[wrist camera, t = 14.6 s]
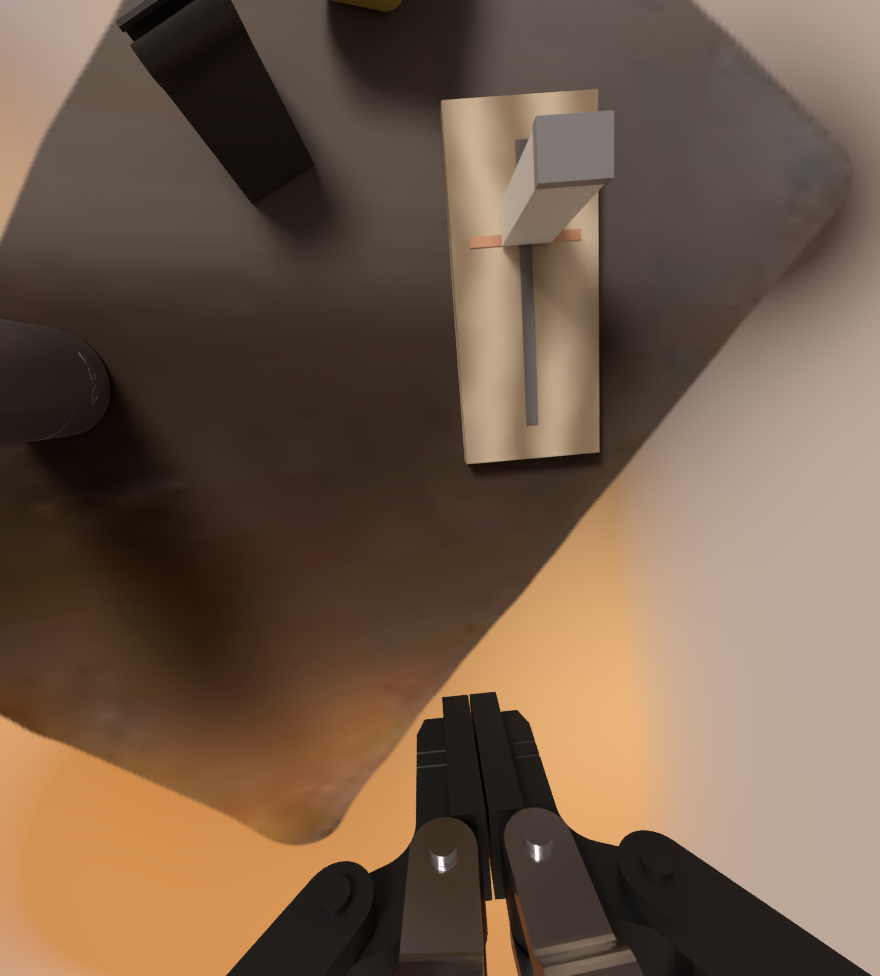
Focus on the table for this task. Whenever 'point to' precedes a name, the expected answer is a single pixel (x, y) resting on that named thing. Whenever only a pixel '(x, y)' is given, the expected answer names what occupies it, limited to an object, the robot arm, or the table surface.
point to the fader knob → (557, 175)
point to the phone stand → (219, 88)
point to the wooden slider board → (519, 292)
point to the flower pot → (374, 4)
